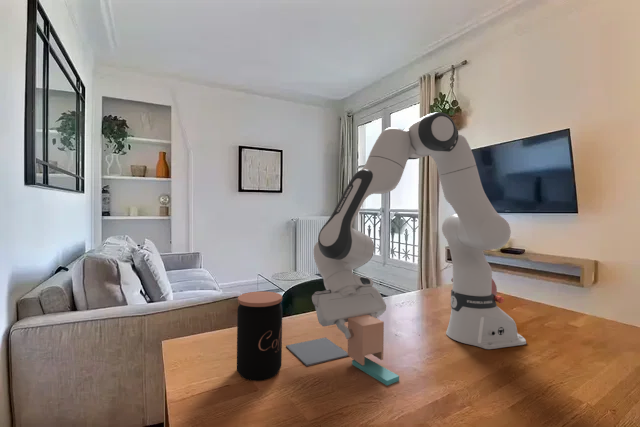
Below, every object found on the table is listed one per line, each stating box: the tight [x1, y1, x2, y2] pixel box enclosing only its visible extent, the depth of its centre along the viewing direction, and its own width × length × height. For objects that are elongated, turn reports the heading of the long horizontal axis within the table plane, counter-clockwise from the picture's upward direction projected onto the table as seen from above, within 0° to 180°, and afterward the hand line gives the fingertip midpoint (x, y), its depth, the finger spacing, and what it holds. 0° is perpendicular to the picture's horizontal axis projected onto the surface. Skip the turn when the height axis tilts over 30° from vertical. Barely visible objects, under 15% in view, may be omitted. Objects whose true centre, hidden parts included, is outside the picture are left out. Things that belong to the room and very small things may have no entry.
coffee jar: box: [236, 291, 283, 382], centre depth 79 cm, size 11×11×18 cm
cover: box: [347, 315, 385, 365], centre depth 83 cm, size 6×6×10 cm
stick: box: [351, 356, 400, 387], centre depth 80 cm, size 4×12×2 cm, turn 35°
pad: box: [285, 337, 349, 367], centre depth 91 cm, size 13×13×1 cm
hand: (363, 334), depth 84 cm, fingers closed on cover, 6 cm apart
